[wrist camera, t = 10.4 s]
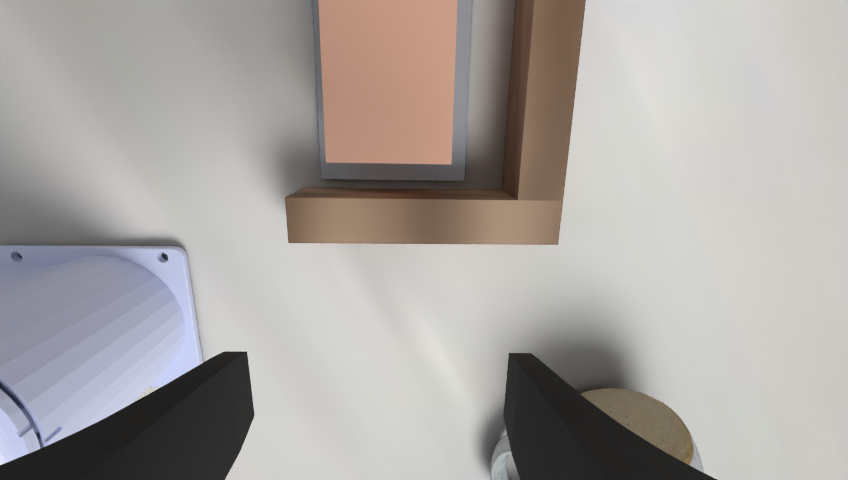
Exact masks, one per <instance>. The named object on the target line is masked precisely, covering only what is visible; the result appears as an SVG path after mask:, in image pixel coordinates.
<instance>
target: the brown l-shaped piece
mask: <svg viewBox="0 0 848 480" xmlns="http://www.w3.org/2000/svg"><path fill="white" fill-rule="evenodd" d="M585 1H586V0H515V13H514V27H513V41H512V55H511V69H510V83H509V97H508V111H507V126H506V140H505V154H504V168H503V182H502V190H434V189H354V188H302V189H300V190H298V191H296V192H295V193H293V194H291V195H289V196H287V197H285V203H286V216H287V229H288V242H289V243H372V244H525V245H558V240H559V231H560V222H561V213H562V204H563V195H564V187H565V178H566V169H567V160H568V151H569V143H570V134H571V125H572V116H573V107H574V98H575V90H576V81H577V72H578V63H579V54H580V46H581V37H582V28H583V19H584V10H585Z"/></svg>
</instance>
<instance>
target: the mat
mask: <svg viewBox="0 0 848 480" xmlns="http://www.w3.org/2000/svg"><path fill="white" fill-rule="evenodd" d="M472 2H473V0H457V27H456V53H455V80H454V107H453V134H452V161H451V164H392V163H330V162H326V153H325V132H324V110H323V89H322V67H321V45H320V24H319V2H318V0H312V8H313V28H314V48H315V67H316V87H317V107H318V126H319V146H320V165H321V179H359V180H433V181H464V178H465V156H466V134H467V112H468V90H469V68H470V46H471V24H472Z"/></svg>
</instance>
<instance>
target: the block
mask: <svg viewBox="0 0 848 480" xmlns="http://www.w3.org/2000/svg"><path fill="white" fill-rule="evenodd" d="M318 2H319V24H320V45H321V67H322V89H323V110H324V132H325V153H326V162H330V163H392V164H451V161H452V134H453V107H454V80H455V53H456V27H457V0H318Z"/></svg>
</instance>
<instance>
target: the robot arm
mask: <svg viewBox="0 0 848 480" xmlns="http://www.w3.org/2000/svg"><path fill="white" fill-rule="evenodd" d="M18 253H19V254H21V256H22V258H20V257H19V255H18ZM162 253H165V254H166V255H167V256H168V260H165V259H164V258H163V257H162ZM148 387H161V388H159V389H157V390H156V391H154V392H152V393H150V394H149V395H147V396H145V397H143V398H141V399H139V400H137V401H136V402H134V401H135V400H136V399H137V398H138V397H139V396H140V395H141V394H142V393H143V392H144V391H145V390H146V389H147V388H148ZM133 402H134V403H133ZM253 417H254V409H253V400H252V391H251V383H250V374H249V366H248V357H247V352H223V353H221V354H218V355H216V356H215V357H213V358H211V359H209V360H207V361H205V362H204V363H203V360H202V354H201V347H200V340H199V333H198V327H197V320H196V313H195V307H194V300H193V293H192V286H191V280H190V273H189V266H188V260H187V255H186V252H185V251H184V250H183V249H182V248H180V247H177V246H56V245H0V480H225V478H226V476H227V474H228V473H229V471H230V469H231V467H232V465H233V463H234V462H235V460H236V458H237V456H238V454H239V452H240V450H241V448H242V445H243V443H244V440H245V438H246V436H247V433H248V430H249V428H250V425H251V423H252V420H253ZM504 420H505V425H506V430H507V435H508V440H509V444H510V449H511V453H512V456H513V459H514V462H515V465H516V468H517V471H518V474H519V477H520V480H717V479H714V478H712V477H710V476H709V475H707V474H705V473H703V472H701V471H699V470H697V469H695V468H694V467H692V466H690V465H688V464H686V463H684V462H682V461H680V460H679V459H677V458H675V457H673V456H671V455H670V454H668V453H666V452H664V451H663V450H661V449H659V448H658V447H656V446H654V445H653V444H651V443H650V442H648V441H646V440H645V439H643V438H642V437H640V436H638V435H637V434H635V433H634V432H632V431H630V430H629V429H627V428H626V427H624V426H623V425H621V424H620V423H619V422H617V421H616V420H614V419H613V418H612V417H610V416H609V415H607V414H606V413H605V412H603V411H602V410H600V409H599V408H598V407H596V406H595V405H594V404H592V403H591V402H590V401H589V400H587V399H586V398H585V397H583V396H582V395H581V394H580V393H578V392H577V391H576V390H575V389H573V388H572V387H571V386H570V385H569V384H567V383H566V382H565V381H564V380H562V379H561V378H560V377H559V376H558V375H557V374H555V373H554V372H553V371H552V370H551V369H549V368H548V367H547V366H546V365H545V364H544V363H542V362H541V361H540V360H539V359H538V358H536V357H535V356H534V355H532V354H531V353H509V359H508V371H507V382H506V394H505V405H504Z"/></svg>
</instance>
